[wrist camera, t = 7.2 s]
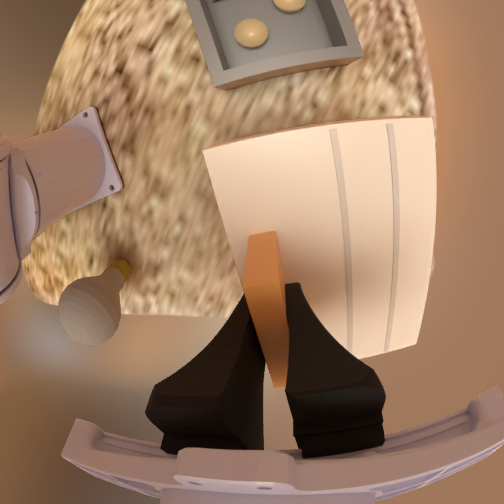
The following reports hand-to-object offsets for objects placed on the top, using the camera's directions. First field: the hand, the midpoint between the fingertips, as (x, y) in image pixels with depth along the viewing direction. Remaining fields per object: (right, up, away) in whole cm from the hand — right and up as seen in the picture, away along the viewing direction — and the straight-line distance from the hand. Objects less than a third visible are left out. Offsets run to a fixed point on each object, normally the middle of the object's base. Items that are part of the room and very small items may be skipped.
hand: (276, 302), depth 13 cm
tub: (-1, +20, 0) cm, 20 cm away
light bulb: (-14, +1, +13) cm, 19 cm away
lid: (+4, +2, +2) cm, 5 cm away
